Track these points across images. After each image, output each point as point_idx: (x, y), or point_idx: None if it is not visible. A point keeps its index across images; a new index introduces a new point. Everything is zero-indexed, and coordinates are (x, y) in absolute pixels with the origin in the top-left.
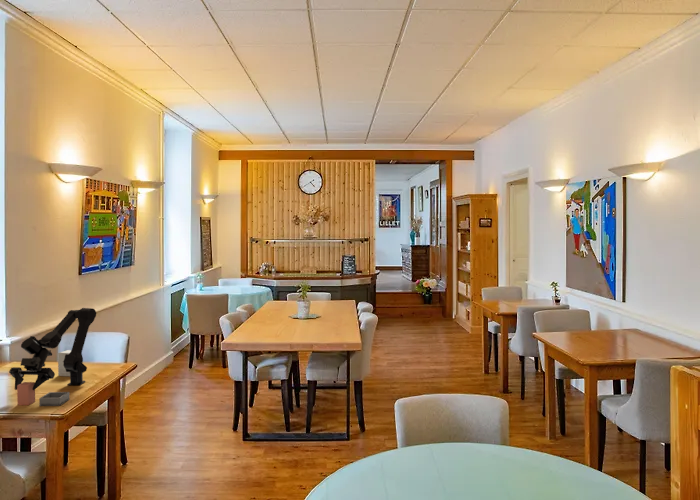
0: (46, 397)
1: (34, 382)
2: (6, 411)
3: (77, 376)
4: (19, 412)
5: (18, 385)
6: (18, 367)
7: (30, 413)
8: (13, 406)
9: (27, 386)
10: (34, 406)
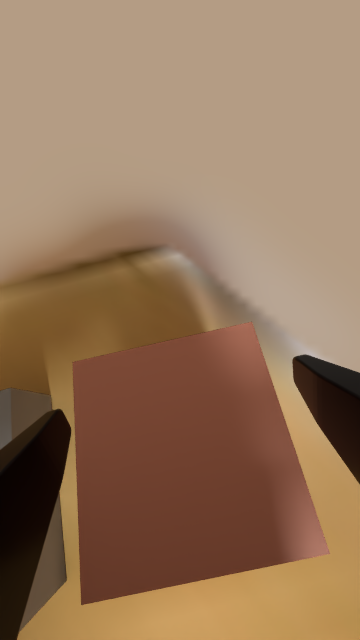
0: None
1: (81, 584)
2: (186, 263)
3: None
4: (99, 271)
5: (228, 327)
6: None
7: (28, 276)
8: None
9: (88, 363)
10: None
